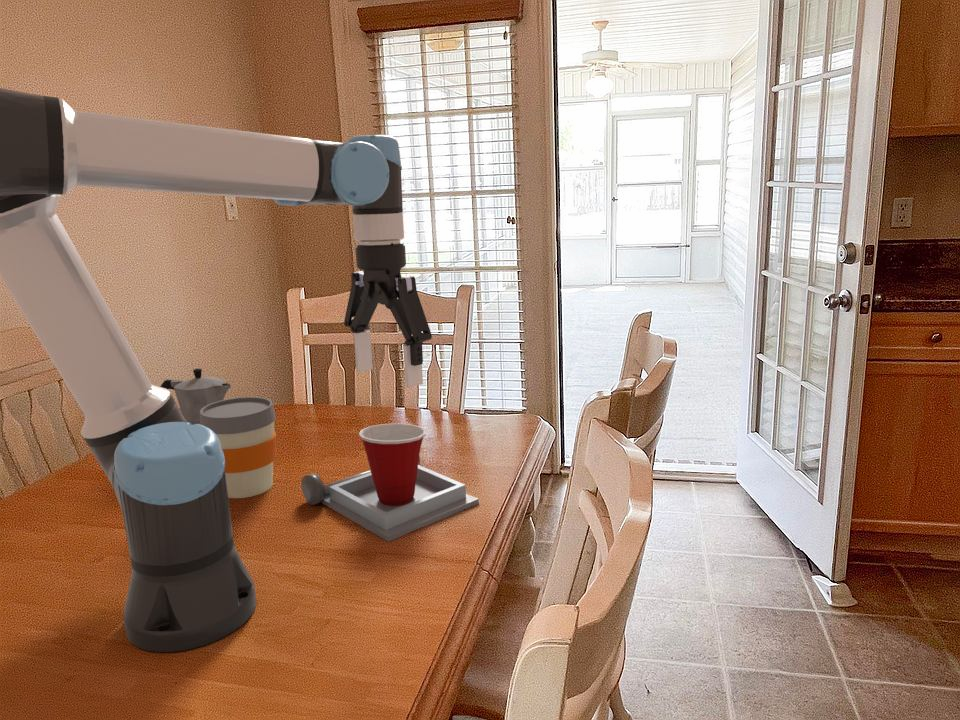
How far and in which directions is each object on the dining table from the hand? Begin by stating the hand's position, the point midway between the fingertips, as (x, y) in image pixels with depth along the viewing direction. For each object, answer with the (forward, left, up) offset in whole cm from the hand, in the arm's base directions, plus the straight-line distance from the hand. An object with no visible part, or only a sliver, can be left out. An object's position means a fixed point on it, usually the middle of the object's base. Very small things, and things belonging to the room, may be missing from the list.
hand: (388, 378), depth 114 cm
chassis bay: (0, +1, -21) cm, 21 cm away
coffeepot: (-14, +47, -22) cm, 54 cm away
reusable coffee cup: (-15, +25, -22) cm, 36 cm away
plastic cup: (0, 0, -21) cm, 21 cm away
